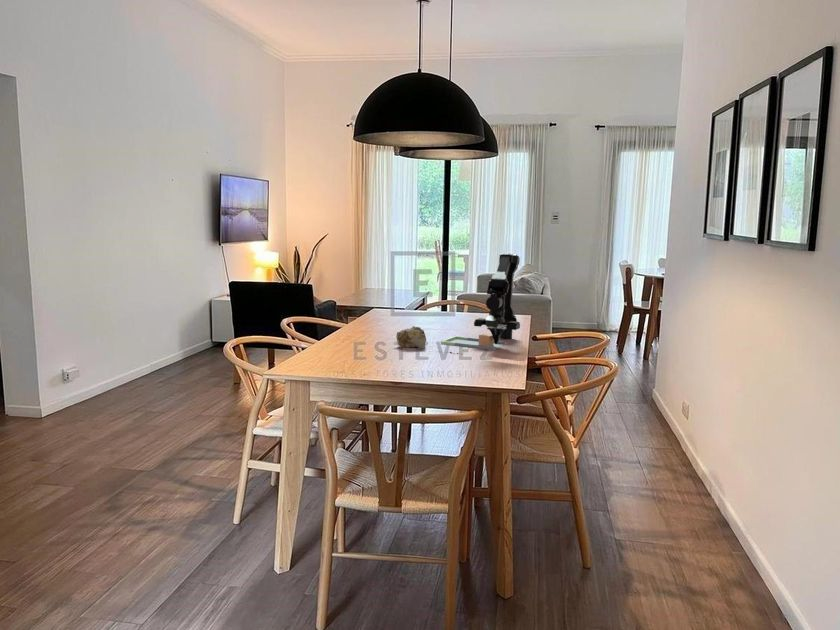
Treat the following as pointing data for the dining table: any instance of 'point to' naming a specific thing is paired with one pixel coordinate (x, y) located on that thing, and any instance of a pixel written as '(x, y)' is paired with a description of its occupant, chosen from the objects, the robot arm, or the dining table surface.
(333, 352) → the dining table surface
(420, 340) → the rock
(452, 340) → the box
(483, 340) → the block
